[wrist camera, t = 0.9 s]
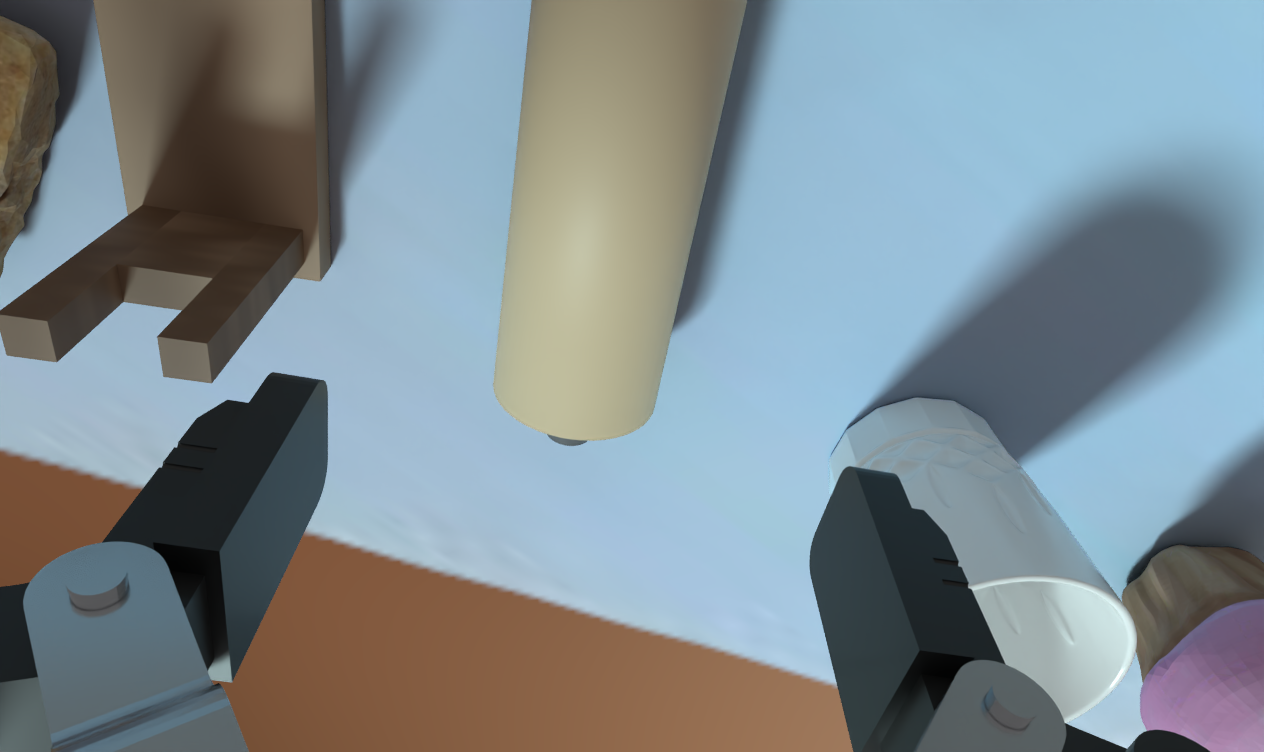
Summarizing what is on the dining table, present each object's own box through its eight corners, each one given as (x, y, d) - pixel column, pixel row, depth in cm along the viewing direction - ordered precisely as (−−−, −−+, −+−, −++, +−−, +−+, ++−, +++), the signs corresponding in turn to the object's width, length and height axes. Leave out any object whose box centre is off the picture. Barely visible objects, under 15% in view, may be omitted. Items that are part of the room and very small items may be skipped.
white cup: (812, 393, 32) (878, 589, 24) (1021, 372, 32) (1164, 565, 23) (812, 542, 36) (868, 754, 28) (996, 526, 36) (1110, 736, 27)
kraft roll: (777, -208, 22) (817, -223, 17) (644, 398, 32) (646, 493, 28) (566, -254, 21) (548, -282, 17) (500, 378, 32) (477, 471, 27)
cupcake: (1194, 654, 40) (1343, 868, 32) (1037, 619, 39) (1150, 833, 30) (1326, 523, 36) (1542, 732, 27) (1154, 478, 34) (1325, 684, 26)
